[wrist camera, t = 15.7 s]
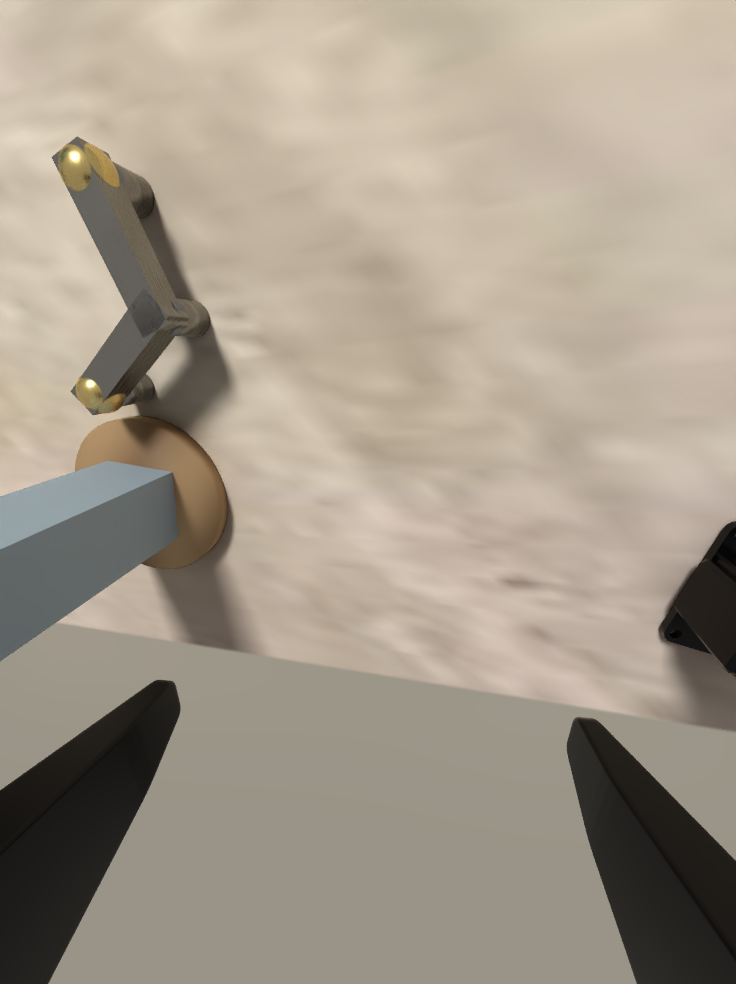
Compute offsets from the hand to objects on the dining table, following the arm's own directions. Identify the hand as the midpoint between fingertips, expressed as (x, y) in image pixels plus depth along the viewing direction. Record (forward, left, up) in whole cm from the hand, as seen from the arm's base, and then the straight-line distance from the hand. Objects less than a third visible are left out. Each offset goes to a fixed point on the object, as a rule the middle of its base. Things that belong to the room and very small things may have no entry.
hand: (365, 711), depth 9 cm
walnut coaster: (+15, +4, -12) cm, 20 cm away
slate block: (+15, +4, -11) cm, 19 cm away
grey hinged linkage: (+14, -7, -12) cm, 20 cm away
